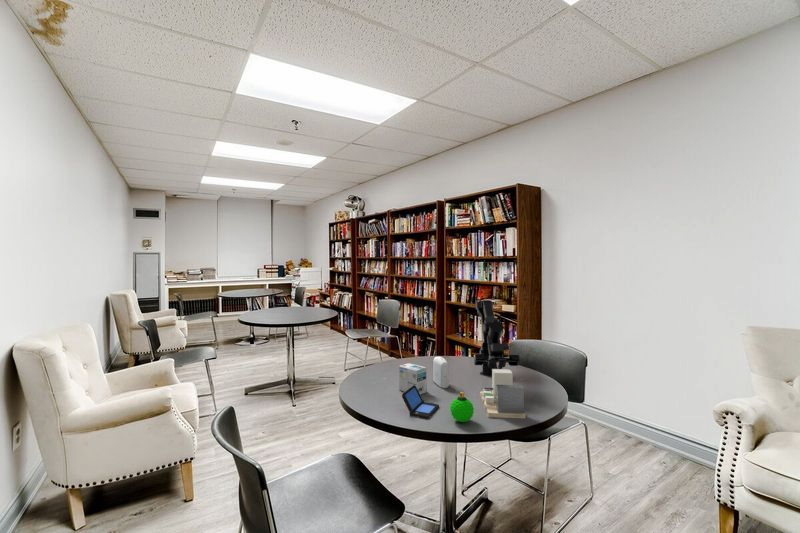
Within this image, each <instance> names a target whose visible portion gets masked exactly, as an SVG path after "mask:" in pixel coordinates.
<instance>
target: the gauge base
mask: <svg viewBox="0 0 800 533" xmlns="http://www.w3.org/2000/svg"><path fill="white" fill-rule="evenodd" d="M479 395H480V398H481V401H482V402H481V403H482V404H483V407H484V410H485V412H486V416H487V417H488V418H503V419H505V418H506V419H526V418H527V417H526V412H525V411H524V413H498V412H497V409H496V398H494V396H493V394H492V390H485V388H483V389H482V390H481V391H479Z"/></svg>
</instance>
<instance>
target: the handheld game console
mask: <svg viewBox="0 0 800 533" xmlns="http://www.w3.org/2000/svg"><path fill="white" fill-rule="evenodd" d="M421 395H422V394H421ZM421 395H420V394H419V392H418V390H417V388H416V386H415V385H413V386H412V387H411V388H409V389H408V390H407V391H406V392H404V391H403V393H402V394H401V398H402V400H403V402H404V403H405V405H406V408H407V410H408V411H409V416H410V417H415V418H421V419H425V420H428V419H430V418H431V417H432V416H433V415H434V413H436V411H437V410H438V409H439V408H440V405H439V404H438V403H432V402H425V401H424V399H423V398H422V396H421Z"/></svg>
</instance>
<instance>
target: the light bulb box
mask: <svg viewBox="0 0 800 533" xmlns="http://www.w3.org/2000/svg"><path fill="white" fill-rule="evenodd" d="M427 372H428V371H427V367H426V366H423V365H418V364H413V363H410V362H409V363H405V364H401V365H398V373H399V374H398V379H399V380H398V381H399V382H398V383H399V384H398V385H399V386H398V388H399V389H398V391H401V392H403V393H404V392H406V391H407V390H408V389H409V388H411V387H412V386H413V385H415V386H416V388H417V390H418V392H419V394H420V395H423V394H425V393H427V392H428V376H427V375H428V373H427Z"/></svg>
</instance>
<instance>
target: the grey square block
mask: <svg viewBox="0 0 800 533" xmlns="http://www.w3.org/2000/svg"><path fill="white" fill-rule="evenodd" d="M524 398H525V388H524V386H523V385H522V384H521V385H520V384H519V385H518V384H517V385H516V384H513V385H496V409H497V412H498V413H524V412H525V410H524V409H525V403H524V402H525V399H524Z"/></svg>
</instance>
